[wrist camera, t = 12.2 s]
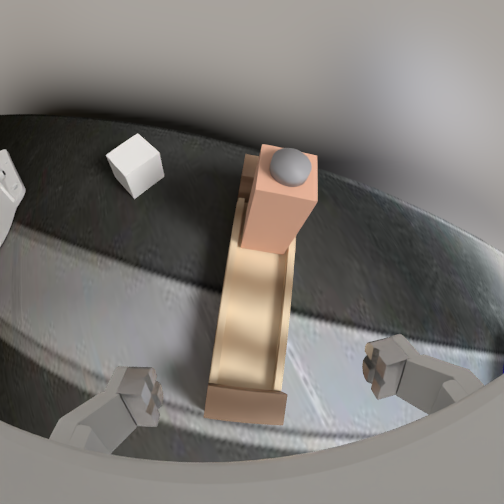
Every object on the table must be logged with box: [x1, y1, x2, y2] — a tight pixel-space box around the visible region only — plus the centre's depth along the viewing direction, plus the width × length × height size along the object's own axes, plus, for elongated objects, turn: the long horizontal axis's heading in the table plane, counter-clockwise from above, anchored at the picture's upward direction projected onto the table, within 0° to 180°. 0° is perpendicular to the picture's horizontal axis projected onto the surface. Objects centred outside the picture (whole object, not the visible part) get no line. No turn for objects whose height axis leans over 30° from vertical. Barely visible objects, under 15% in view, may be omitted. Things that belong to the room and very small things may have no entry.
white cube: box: [106, 134, 164, 199], centre depth 32 cm, size 5×5×5 cm
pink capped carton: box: [241, 144, 318, 255], centre depth 25 cm, size 5×5×12 cm
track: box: [204, 154, 296, 425], centre depth 27 cm, size 27×7×7 cm, turn 173°
